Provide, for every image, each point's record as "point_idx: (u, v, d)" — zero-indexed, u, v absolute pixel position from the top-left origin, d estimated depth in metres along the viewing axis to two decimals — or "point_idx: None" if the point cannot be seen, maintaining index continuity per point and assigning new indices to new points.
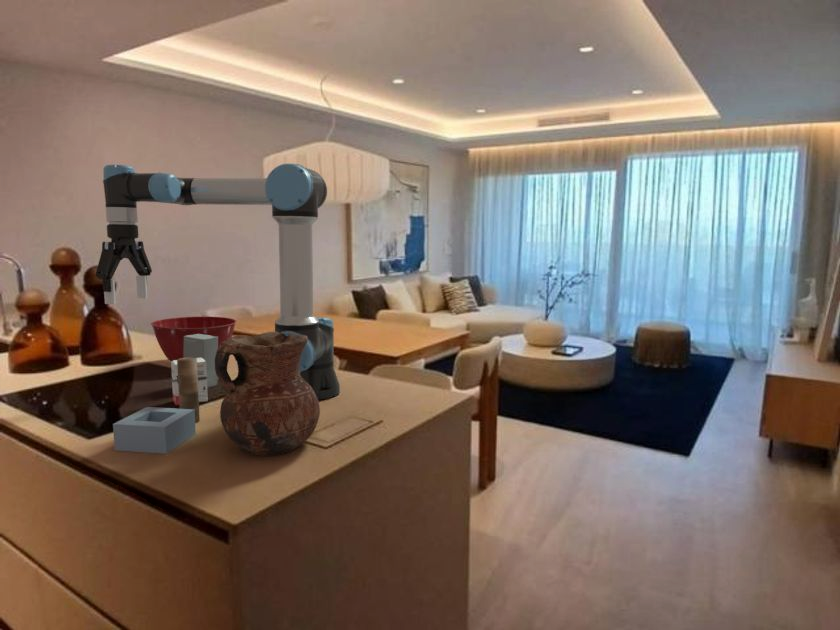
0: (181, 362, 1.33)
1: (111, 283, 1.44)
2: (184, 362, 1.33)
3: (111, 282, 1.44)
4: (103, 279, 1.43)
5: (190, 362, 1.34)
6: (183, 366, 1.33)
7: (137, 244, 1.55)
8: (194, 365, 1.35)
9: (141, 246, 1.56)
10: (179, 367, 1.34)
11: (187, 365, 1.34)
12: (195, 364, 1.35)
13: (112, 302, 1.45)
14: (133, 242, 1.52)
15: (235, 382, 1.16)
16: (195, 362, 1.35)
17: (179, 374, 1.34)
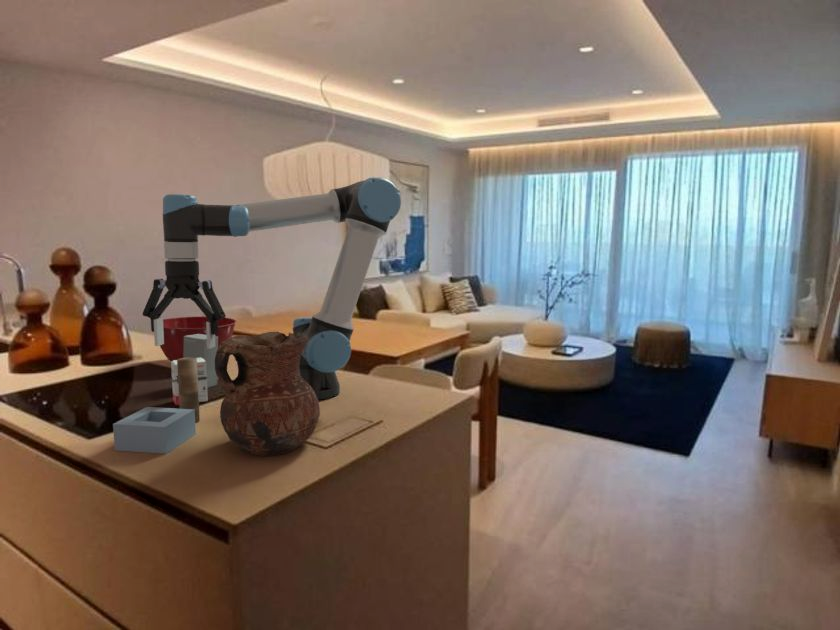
0: (181, 362, 1.33)
1: None
2: (184, 362, 1.33)
3: None
4: None
5: (190, 362, 1.34)
6: (183, 366, 1.33)
7: None
8: (194, 365, 1.35)
9: (203, 287, 1.31)
10: (179, 367, 1.34)
11: (187, 365, 1.34)
12: (195, 364, 1.35)
13: None
14: (190, 281, 1.31)
15: (235, 382, 1.16)
16: (195, 362, 1.35)
17: (179, 374, 1.34)
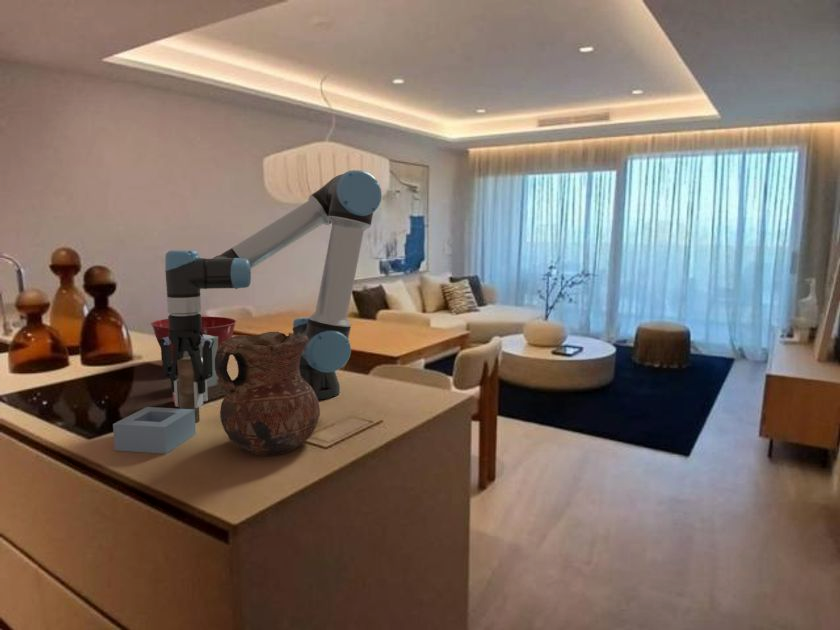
0: (181, 362, 1.33)
1: None
2: (184, 362, 1.33)
3: None
4: None
5: (190, 362, 1.34)
6: (183, 366, 1.33)
7: (204, 341, 1.34)
8: None
9: (204, 345, 1.33)
10: (179, 367, 1.34)
11: (187, 365, 1.34)
12: None
13: None
14: (194, 334, 1.33)
15: (235, 382, 1.16)
16: None
17: (179, 374, 1.34)
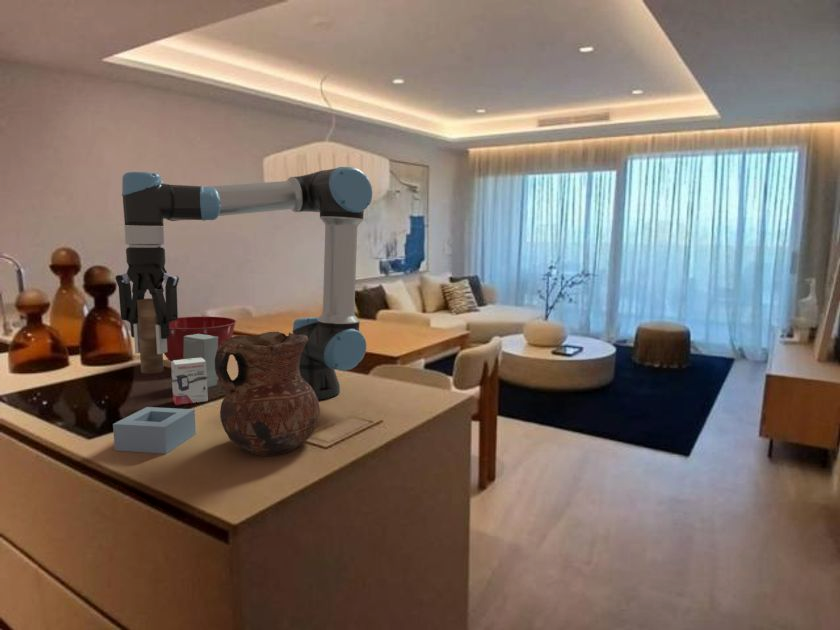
0: (141, 302, 1.17)
1: None
2: (144, 302, 1.17)
3: None
4: None
5: (151, 302, 1.18)
6: (143, 306, 1.17)
7: (167, 278, 1.18)
8: None
9: (167, 282, 1.17)
10: (139, 307, 1.18)
11: (148, 305, 1.17)
12: None
13: None
14: (156, 270, 1.17)
15: (235, 382, 1.16)
16: None
17: (139, 316, 1.18)
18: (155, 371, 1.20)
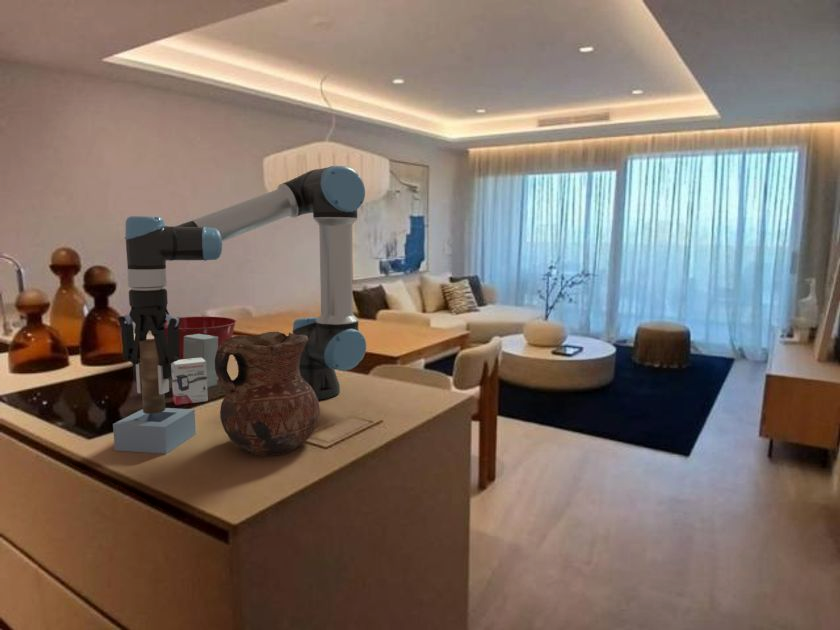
0: (143, 343, 1.18)
1: None
2: (147, 343, 1.18)
3: None
4: None
5: (154, 343, 1.19)
6: (146, 347, 1.19)
7: (170, 320, 1.19)
8: None
9: (169, 324, 1.18)
10: (141, 349, 1.19)
11: (150, 347, 1.19)
12: None
13: None
14: (159, 312, 1.18)
15: (235, 382, 1.16)
16: None
17: (141, 357, 1.19)
18: (157, 411, 1.21)
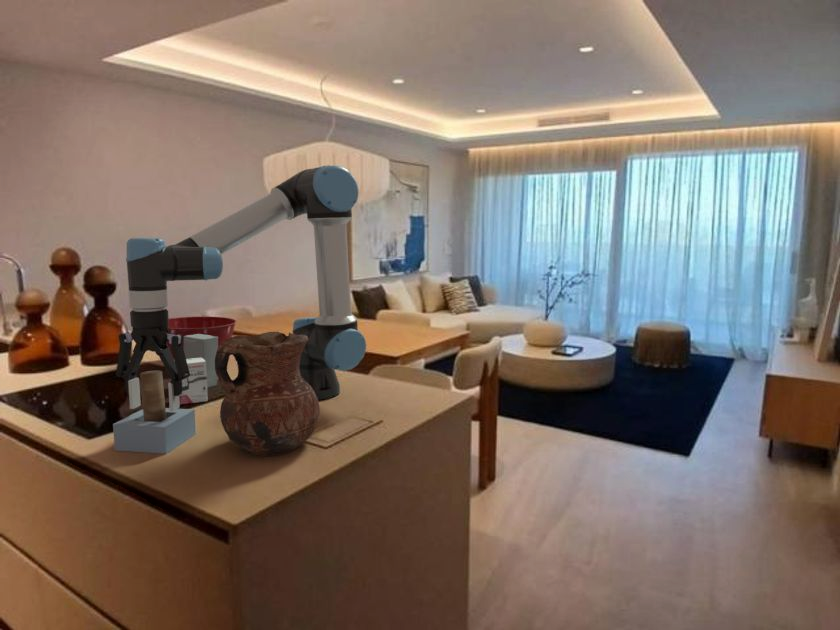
0: (144, 376, 1.20)
1: None
2: (147, 376, 1.20)
3: None
4: None
5: (154, 376, 1.20)
6: (146, 380, 1.20)
7: (171, 338, 1.19)
8: (159, 380, 1.21)
9: (172, 342, 1.19)
10: (142, 382, 1.20)
11: (151, 379, 1.20)
12: (160, 378, 1.22)
13: None
14: (159, 332, 1.19)
15: (235, 382, 1.16)
16: (160, 376, 1.22)
17: (142, 390, 1.20)
18: None
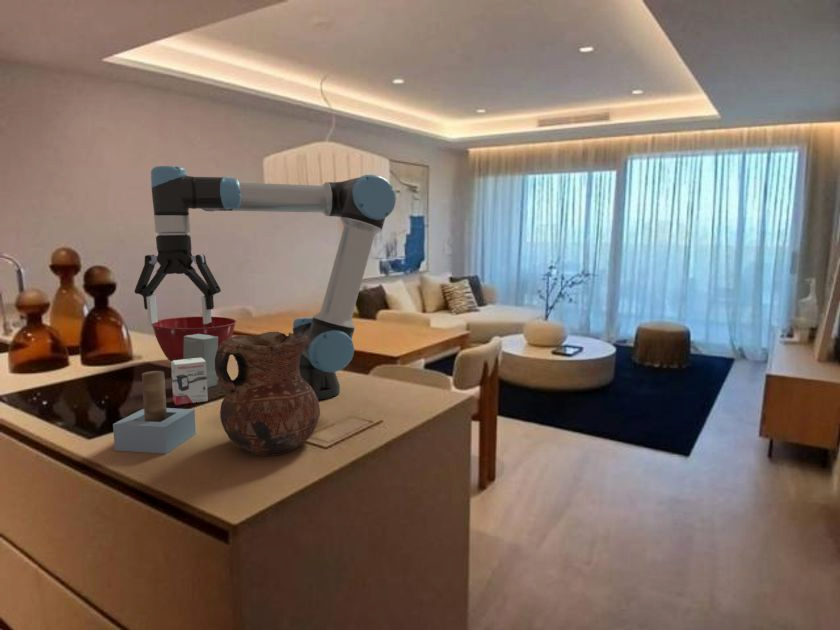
0: (146, 377, 1.20)
1: None
2: (149, 377, 1.20)
3: None
4: None
5: (156, 377, 1.20)
6: (148, 381, 1.20)
7: (195, 258, 1.29)
8: (161, 380, 1.21)
9: (197, 261, 1.28)
10: (144, 382, 1.20)
11: (153, 380, 1.20)
12: (162, 379, 1.22)
13: None
14: (183, 256, 1.28)
15: (235, 382, 1.16)
16: (162, 376, 1.22)
17: (144, 390, 1.20)
18: None
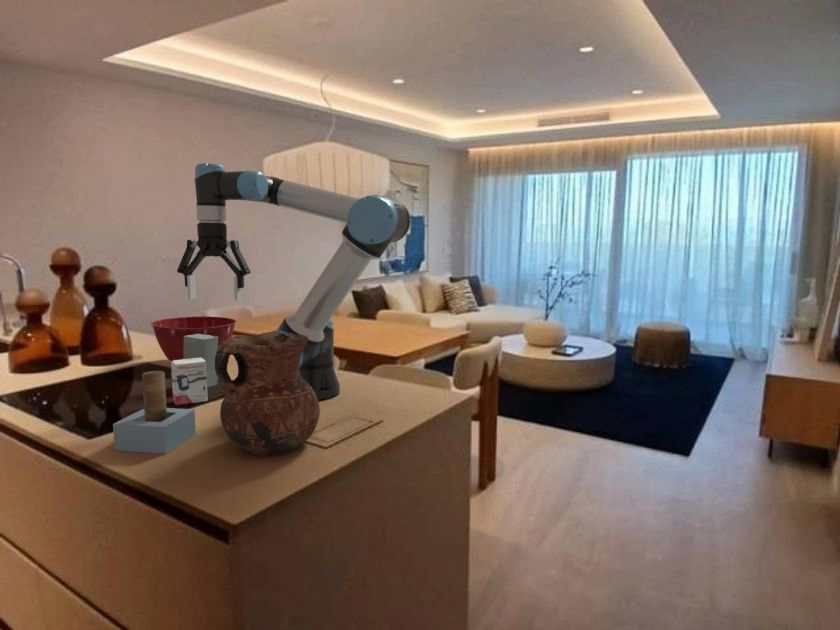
0: (146, 377, 1.20)
1: None
2: (150, 377, 1.20)
3: None
4: None
5: (156, 376, 1.20)
6: (149, 380, 1.20)
7: None
8: (161, 380, 1.21)
9: (231, 245, 1.48)
10: (144, 382, 1.20)
11: (153, 380, 1.20)
12: (162, 379, 1.22)
13: None
14: (219, 241, 1.49)
15: (235, 382, 1.16)
16: (162, 376, 1.22)
17: (144, 390, 1.20)
18: None
